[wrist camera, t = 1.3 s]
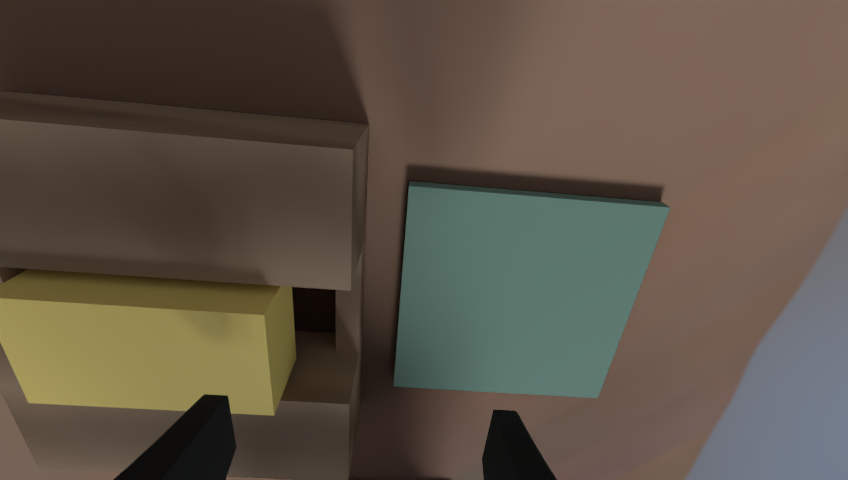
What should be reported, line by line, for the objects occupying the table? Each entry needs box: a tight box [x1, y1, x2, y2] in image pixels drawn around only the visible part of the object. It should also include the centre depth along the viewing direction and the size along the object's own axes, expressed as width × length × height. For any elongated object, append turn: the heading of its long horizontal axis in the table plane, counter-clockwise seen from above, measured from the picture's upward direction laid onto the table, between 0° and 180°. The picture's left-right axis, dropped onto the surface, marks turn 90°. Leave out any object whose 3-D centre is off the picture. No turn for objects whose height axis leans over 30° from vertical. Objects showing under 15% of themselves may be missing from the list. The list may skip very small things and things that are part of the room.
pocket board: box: [0, 91, 369, 480], centre depth 15 cm, size 14×12×4 cm
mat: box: [393, 181, 670, 398], centre depth 18 cm, size 10×10×1 cm
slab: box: [0, 269, 296, 416], centre depth 14 cm, size 4×8×3 cm, turn 85°
